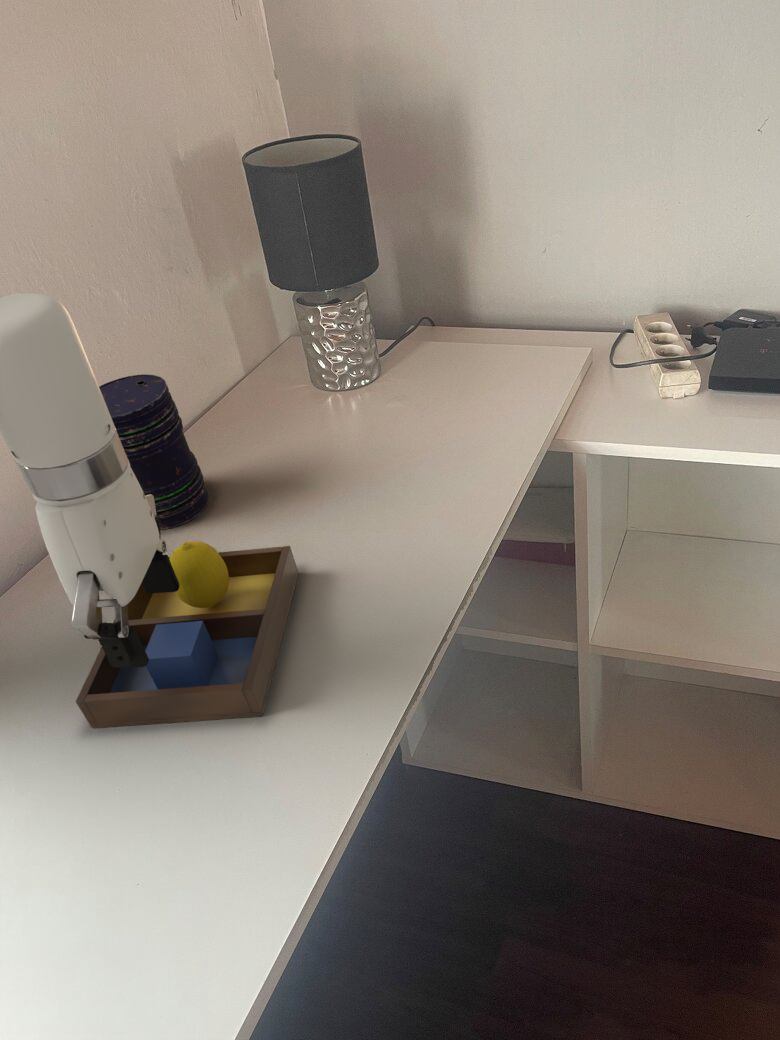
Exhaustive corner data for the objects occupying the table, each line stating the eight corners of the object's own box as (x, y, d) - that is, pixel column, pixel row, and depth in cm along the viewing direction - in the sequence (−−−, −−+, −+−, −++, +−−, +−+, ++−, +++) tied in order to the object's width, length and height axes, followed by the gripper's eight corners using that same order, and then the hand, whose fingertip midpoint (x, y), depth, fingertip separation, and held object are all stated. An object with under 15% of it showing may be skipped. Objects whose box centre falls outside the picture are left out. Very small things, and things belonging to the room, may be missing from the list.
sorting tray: (91, 728, 78) (75, 701, 76) (154, 585, 93) (142, 559, 91) (262, 716, 76) (251, 688, 74) (298, 572, 91) (290, 545, 89)
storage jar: (174, 537, 99) (124, 423, 90) (112, 523, 104) (58, 412, 94) (226, 489, 106) (185, 378, 96) (166, 478, 110) (121, 370, 100)
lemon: (175, 608, 88) (146, 546, 83) (221, 580, 91) (196, 519, 86) (201, 632, 85) (173, 569, 80) (248, 603, 87) (224, 540, 82)
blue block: (159, 693, 79) (141, 659, 76) (173, 658, 83) (156, 624, 80) (206, 690, 79) (190, 655, 76) (218, 655, 82) (202, 620, 79)
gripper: (69, 410, 73) (137, 567, 84) (-22, 534, 60) (73, 700, 71) (154, 403, 72) (212, 563, 84) (81, 527, 59) (161, 696, 71)
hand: (148, 625), depth 77 cm, fingers open, 9 cm apart
